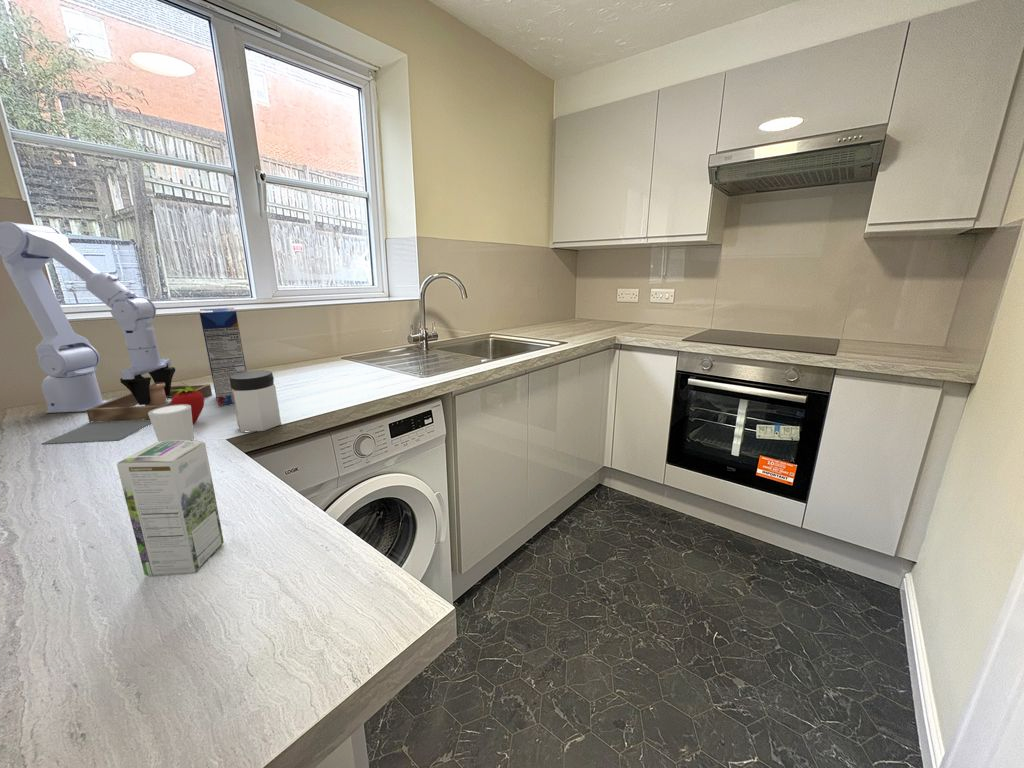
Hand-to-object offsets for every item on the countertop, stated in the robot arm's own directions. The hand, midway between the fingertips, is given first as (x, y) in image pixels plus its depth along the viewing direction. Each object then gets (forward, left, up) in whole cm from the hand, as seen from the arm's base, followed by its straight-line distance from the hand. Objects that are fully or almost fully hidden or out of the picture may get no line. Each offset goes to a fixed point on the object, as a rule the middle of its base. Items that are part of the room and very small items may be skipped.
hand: (155, 399), depth 106 cm
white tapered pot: (+19, -25, -2) cm, 31 cm away
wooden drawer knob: (0, 0, -2) cm, 2 cm away
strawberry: (+16, -14, -2) cm, 21 cm away
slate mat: (0, -17, -2) cm, 17 cm away
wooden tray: (0, 0, -2) cm, 2 cm away
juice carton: (+16, +5, -2) cm, 17 cm away
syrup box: (+43, -65, -2) cm, 78 cm away
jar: (+32, -18, -2) cm, 37 cm away
